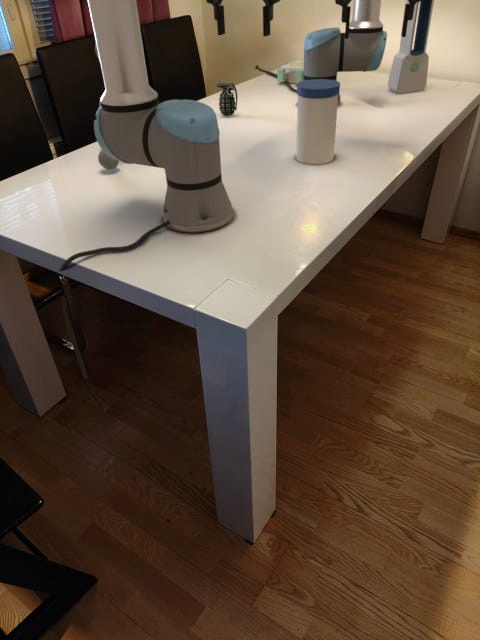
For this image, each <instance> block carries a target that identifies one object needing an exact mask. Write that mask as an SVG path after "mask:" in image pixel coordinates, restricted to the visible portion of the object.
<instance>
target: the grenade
mask: <svg viewBox="0 0 480 640" xmlns="http://www.w3.org/2000/svg"><path fill="white" fill-rule="evenodd" d="M215 87H217V88H219V89H221V93H219V97H218V101H219V102H218V106H219V108H218V109H219V112H220V114H221V115H222V116H224V117H231V116H233V115H234V113H235V112H236V111H237V108H238V89H237V87H236V85H235V84H234V83H233V82H218V83H217V84H216V86H215ZM232 91H233V92H232ZM234 94H235V96H234Z"/></svg>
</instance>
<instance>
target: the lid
mask: <svg viewBox="0 0 480 640" xmlns="http://www.w3.org/2000/svg"><path fill="white" fill-rule="evenodd" d="M340 89H341V82H340V81H338V80H337V81H335V80H329V79H312V80H305V81H301V82H299V83H297V84H296V90H297V93H296V94H297V96H298V95H299V96H302V97H308V98H325V97H331V96H335V95H337V94H339V93H340V92H341V91H340Z"/></svg>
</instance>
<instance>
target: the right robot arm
mask: <svg viewBox="0 0 480 640" xmlns="http://www.w3.org/2000/svg"><path fill="white" fill-rule="evenodd" d="M352 1H353V4H352V5H353V6H352V7H351V5H349V4H350V3H351V2H352ZM408 1H409V4H406V3H405V4H404V11H403V19H402V25H401V26H402V27H401V34H400V37H401V36H402V37H406V31H407V24H408V20H412V19H413V14H414V7H415V4H416V3H417V2H419V1H422V0H408ZM334 2H335V5H338V6H341V18H340V20H341V23H342V24H343V23H344V24H345V31H344V32H341V28H340V27H327V28H321V29H318V30H313V31H310V32H309V33H307V34H306V35H305V37H304V45H303V53H304V54H303V59H304V71H303V81H305V80H312V79H329V80H335V81H338V80H337V79H338V73H348V72H363V73H366V72H374V71H377V70H378V69H379V68H380V67H381V64H382V61H383V58H384V55H385V51H386V44H387V38H388V32H387V31H385V30H384V24H383V23H382V22H381V20H380V16H381V8H382V7H381V6H382V0H334ZM419 3H420V2H419ZM351 10H352V18H351ZM254 69H255V70H258V71H259V72H260V73H261V72H262V73H265V74H267V75H271V76H273V77H275V78H277V73H275V72H271V71H270V70H266V69H263V68H260V66H259V65H258V64H256V65H255V67H254ZM283 83H284V84H285V85H286V86H287V87H288V88H289V90H291V91H292V92H294V93H296V94H297V88H294V87H293V86H292V85H291V83H288V82H287V81H285V82H283ZM341 99H342V98H341V94H340V92H339V94H338V104H337V107H338V106H340V105H341ZM296 104H297V105H298V101H297V103H296Z"/></svg>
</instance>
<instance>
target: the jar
mask: <svg viewBox="0 0 480 640" xmlns="http://www.w3.org/2000/svg"><path fill="white" fill-rule="evenodd" d="M297 102H298V104H297V107H296V108H297V110H296V112H297V113H296V114H297V115H296V117H297V118H296V119H297V120H296V150H295V151H296V152H295V153H296V155H295V157H296V158H295V159H296V160H297V162H300V163H303V164H307V165H323V164H327V163H331V162H332V161H333V160H334V158H335V145H336V131H337V118H338V117H337V115H338V106H337V104H338V94H337V95H335V96H331V97H325V98H308V97H302V96H299V95H298V94H297Z"/></svg>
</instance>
